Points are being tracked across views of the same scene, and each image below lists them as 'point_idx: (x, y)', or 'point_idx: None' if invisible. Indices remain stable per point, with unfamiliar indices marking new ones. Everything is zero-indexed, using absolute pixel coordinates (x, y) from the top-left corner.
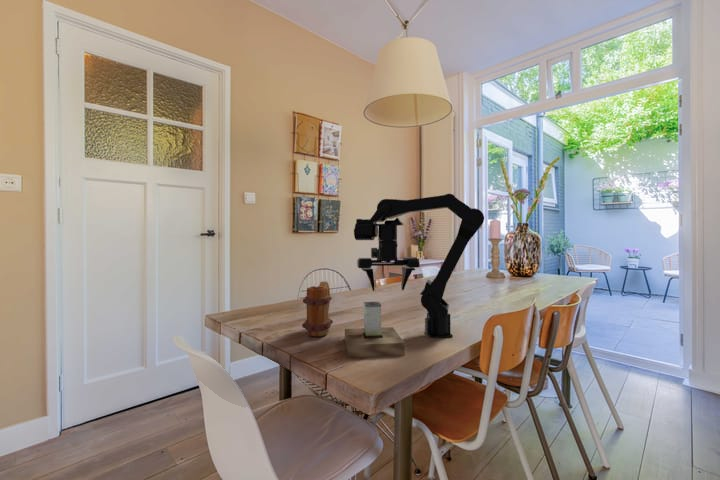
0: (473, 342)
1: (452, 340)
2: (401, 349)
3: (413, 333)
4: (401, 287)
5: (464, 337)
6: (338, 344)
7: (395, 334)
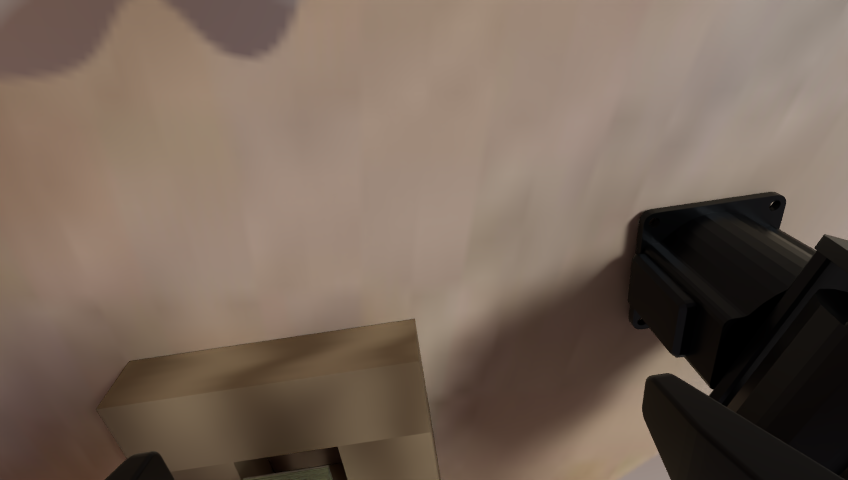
0: None
1: None
2: None
3: (555, 241)
4: (668, 401)
5: None
6: None
7: (421, 469)
